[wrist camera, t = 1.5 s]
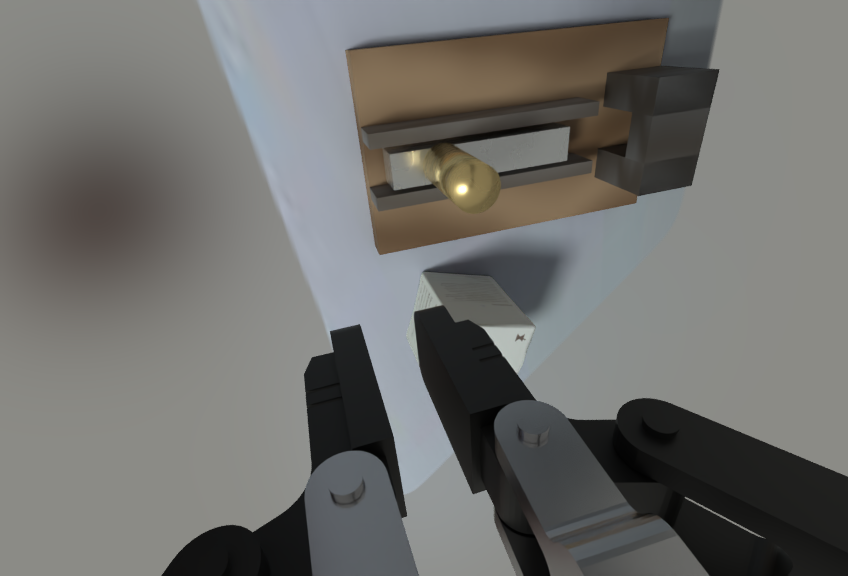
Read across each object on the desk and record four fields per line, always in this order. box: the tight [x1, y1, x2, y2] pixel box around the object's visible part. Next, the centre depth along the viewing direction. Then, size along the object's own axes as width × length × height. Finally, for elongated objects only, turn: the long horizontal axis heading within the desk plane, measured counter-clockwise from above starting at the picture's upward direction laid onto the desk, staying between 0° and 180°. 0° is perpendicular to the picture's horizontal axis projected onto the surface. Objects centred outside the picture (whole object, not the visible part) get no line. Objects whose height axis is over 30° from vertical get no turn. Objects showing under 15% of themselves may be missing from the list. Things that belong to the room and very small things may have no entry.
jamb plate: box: [345, 18, 719, 255], centre depth 27 cm, size 12×20×6 cm, turn 95°
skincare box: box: [406, 272, 536, 374], centre depth 32 cm, size 6×6×7 cm
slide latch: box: [382, 122, 570, 214], centre depth 24 cm, size 2×11×7 cm, turn 95°
